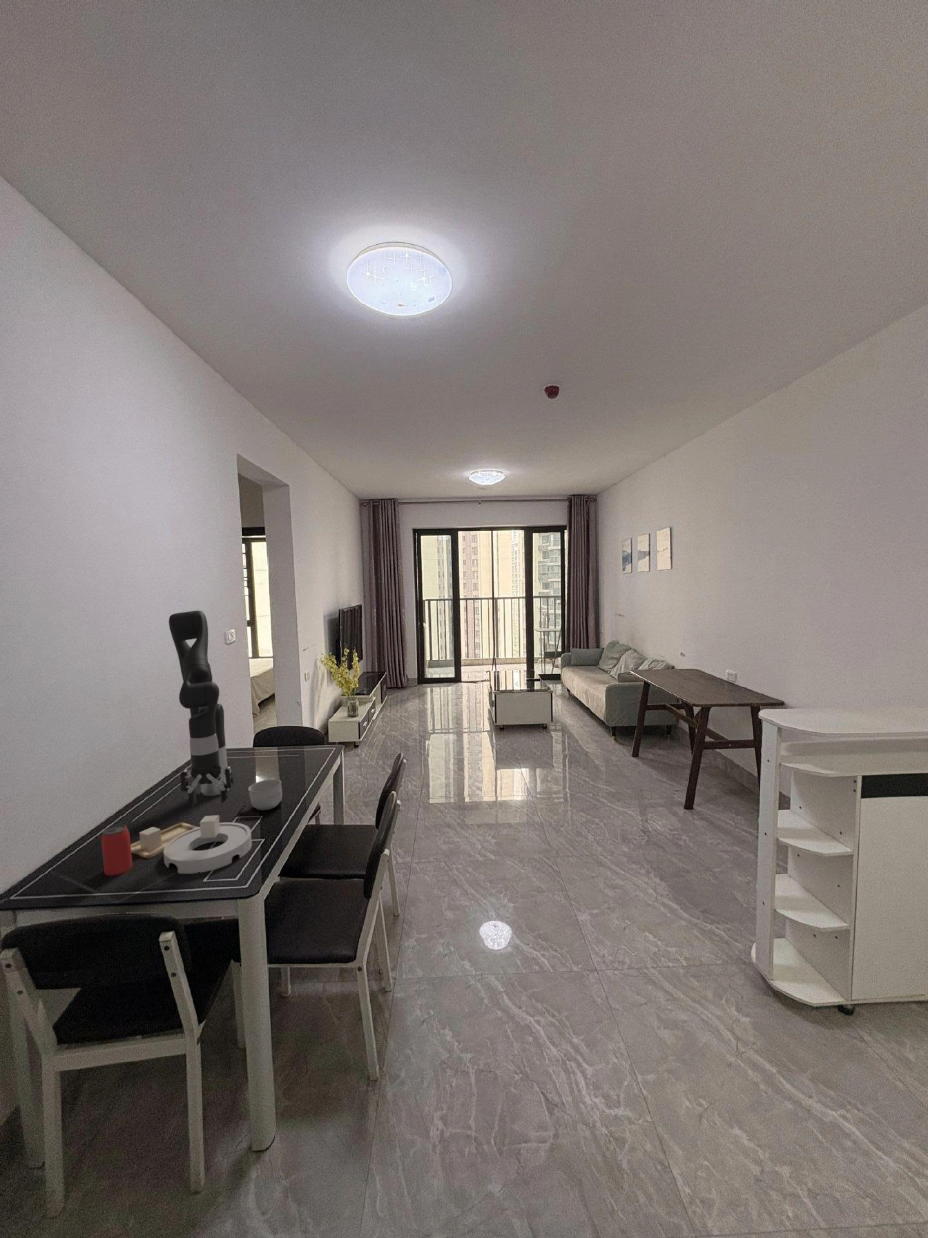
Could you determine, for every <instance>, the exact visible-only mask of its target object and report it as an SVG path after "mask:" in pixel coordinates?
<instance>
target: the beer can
mask: <svg viewBox="0 0 928 1238" xmlns="http://www.w3.org/2000/svg"><path fill="white" fill-rule="evenodd" d="M130 836H131V835H130V831H129V829H128V827H127V825H126V824H115V825H112V826H109V827H107V828H106V829H104V830H103V831H102V835H101V849H102V850H101V851H102V859H103V860H102V861H103V869H104V875H106V876H117V875H120V874H123V873H126V872H128V871H129V870H131V869H132V868H133V857H132V854H133V853H132V852H131V844H132V843H131V837H130Z"/></svg>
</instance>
